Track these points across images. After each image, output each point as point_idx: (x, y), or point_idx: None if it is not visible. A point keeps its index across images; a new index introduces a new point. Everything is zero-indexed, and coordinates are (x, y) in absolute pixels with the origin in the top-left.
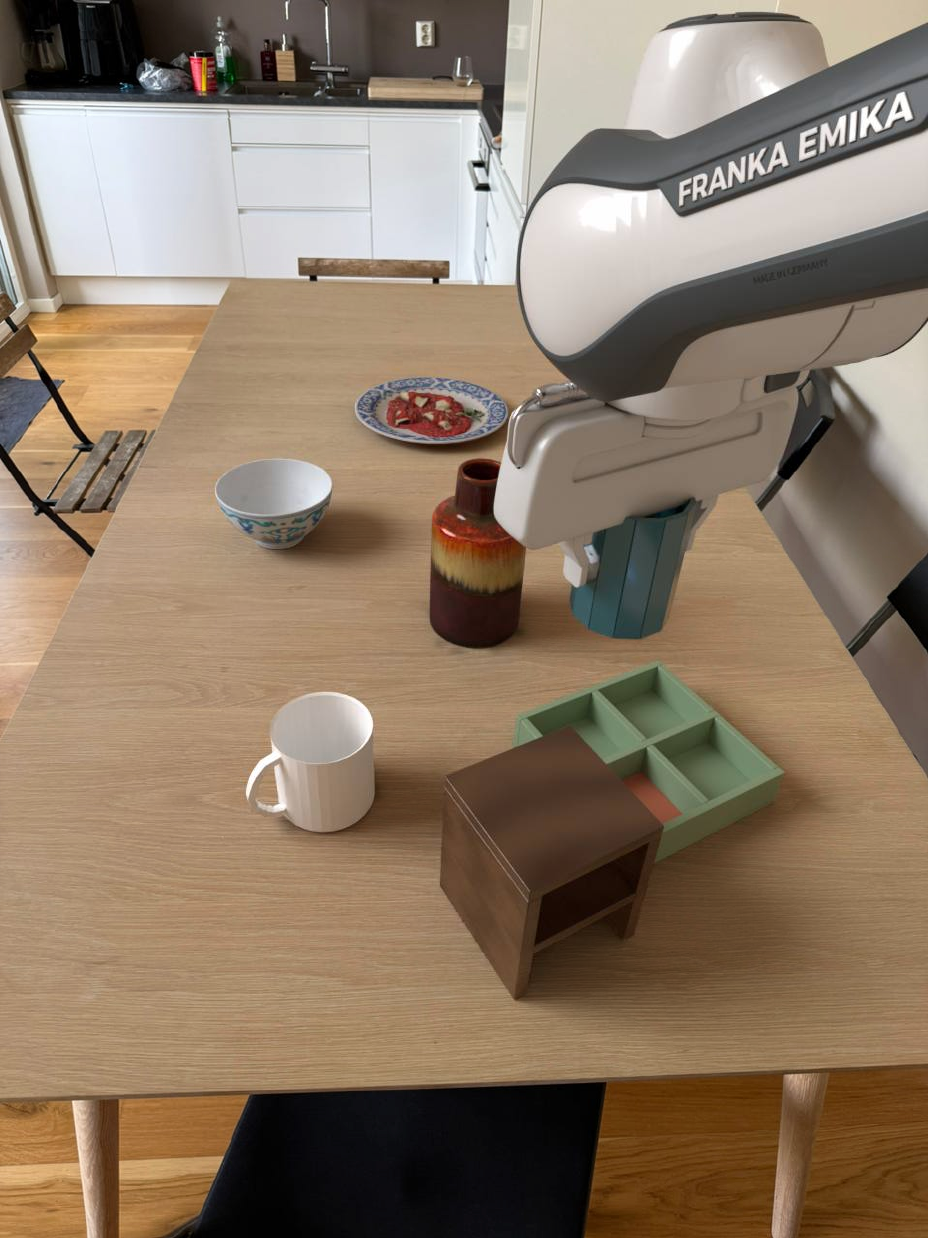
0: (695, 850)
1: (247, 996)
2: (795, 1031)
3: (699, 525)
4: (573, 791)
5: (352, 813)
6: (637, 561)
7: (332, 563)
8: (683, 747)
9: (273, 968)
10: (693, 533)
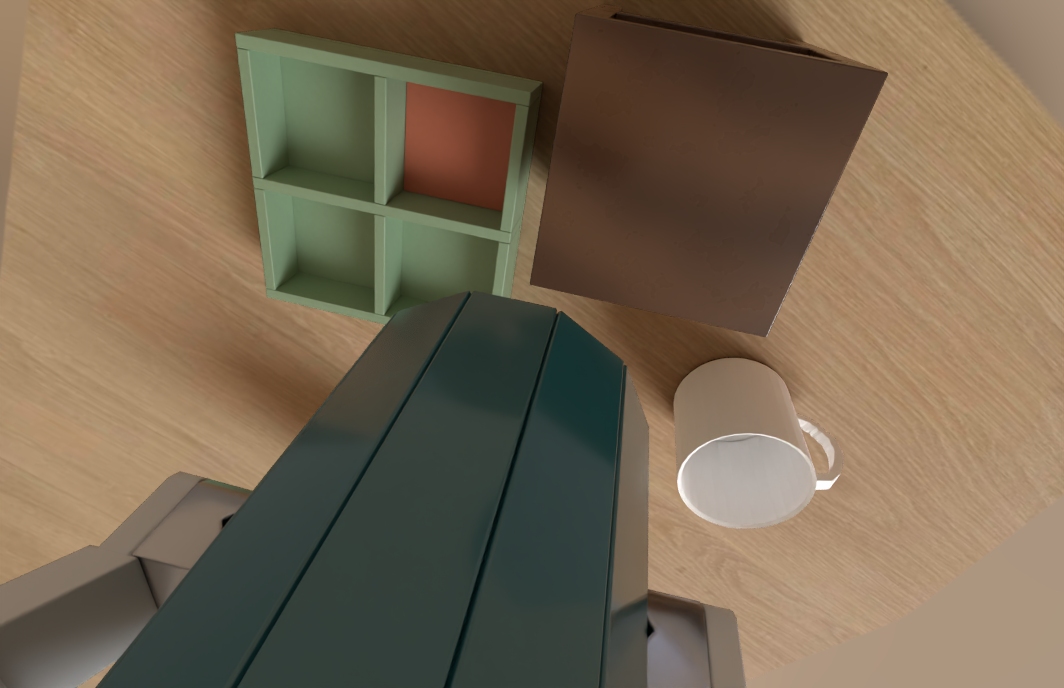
0: (428, 47)
1: (1011, 267)
2: None
3: (68, 563)
4: (638, 184)
5: (743, 369)
6: (567, 639)
7: None
8: (328, 178)
9: (961, 275)
10: (123, 539)
